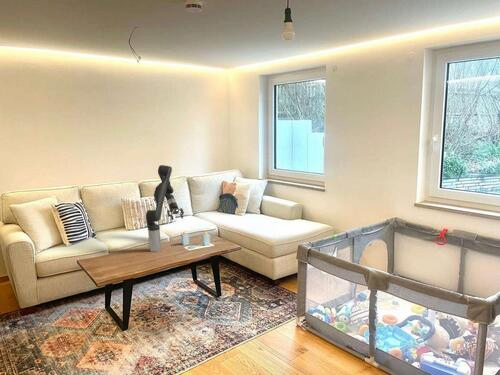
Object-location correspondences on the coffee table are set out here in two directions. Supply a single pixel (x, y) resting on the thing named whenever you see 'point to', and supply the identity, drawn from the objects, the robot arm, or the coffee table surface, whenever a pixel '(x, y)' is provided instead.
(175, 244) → the coffee table surface
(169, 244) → the coffee table surface
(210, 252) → the coffee table surface
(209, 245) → the card
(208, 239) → the post
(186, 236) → the post
